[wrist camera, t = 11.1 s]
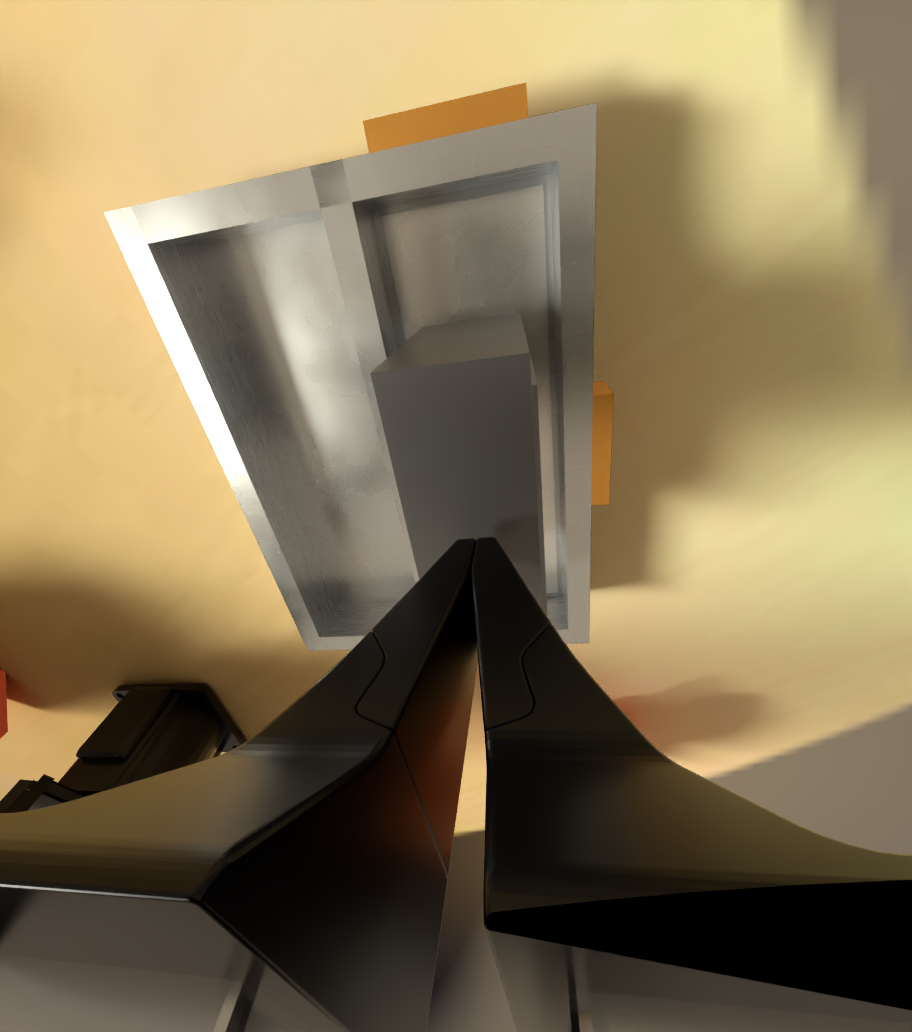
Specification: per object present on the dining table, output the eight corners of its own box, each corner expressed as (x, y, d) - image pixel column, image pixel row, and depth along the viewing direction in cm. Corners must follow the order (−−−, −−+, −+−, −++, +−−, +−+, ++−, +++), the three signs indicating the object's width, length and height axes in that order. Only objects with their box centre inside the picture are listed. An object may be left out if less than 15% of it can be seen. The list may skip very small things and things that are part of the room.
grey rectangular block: (537, 534, 17) (550, 657, 12) (457, 539, 17) (438, 659, 12) (525, 312, 13) (538, 351, 8) (422, 326, 13) (370, 372, 8)
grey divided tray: (592, 591, 19) (605, 642, 17) (331, 603, 21) (308, 650, 19) (600, 100, 11) (628, 55, 8) (170, 196, 13) (89, 182, 10)
